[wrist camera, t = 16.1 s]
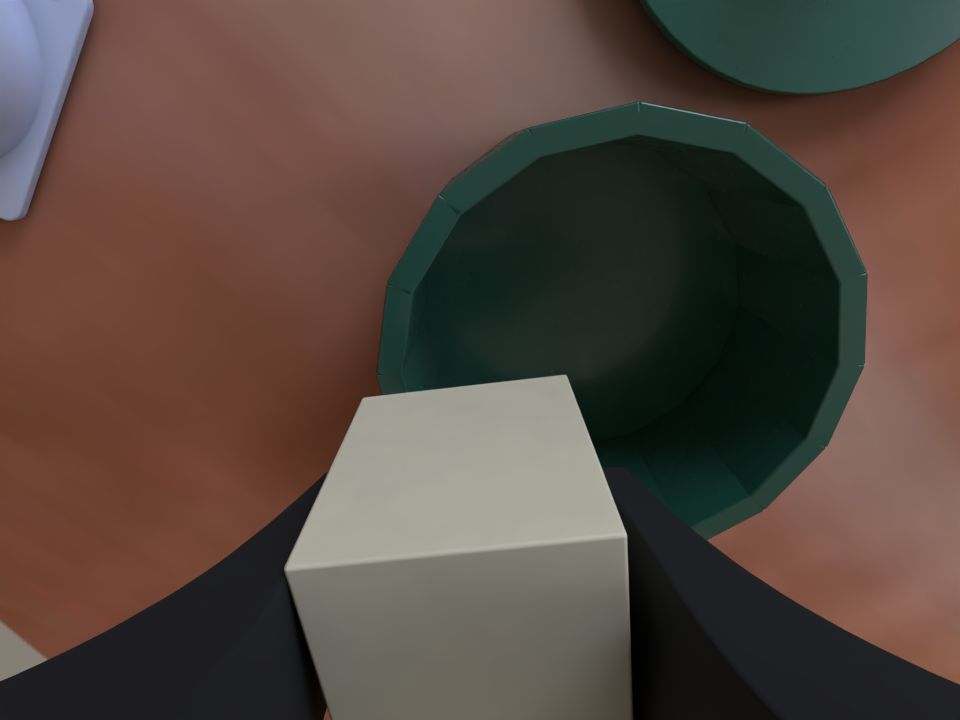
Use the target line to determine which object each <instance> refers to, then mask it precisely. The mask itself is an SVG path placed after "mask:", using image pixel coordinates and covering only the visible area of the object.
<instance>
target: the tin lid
mask: <svg viewBox="0 0 960 720" xmlns="http://www.w3.org/2000/svg"><path fill="white" fill-rule="evenodd" d="M639 1H640V3H641V4H642V6H643V8H644V9H645V11H646V13H647V14H648V16H649V17H650V18H651V19H652V21H653V22H654V23H655V24H656V26H657V27H658V28H659V29H660V31H661V32H662V33H663V34H664V36H665V37H666V38H667V39H668V40H669V41H670V42H671V43H673V44H674V45H675V46H676V47H677V48H678V49H679V50H680V51H681V52H682V53H683V54H684V55H686V56H687V57H688V58H689V59H691V60H692V61H694V62H695V63H697V64H698V65H700V66H701V67H703V68H704V69H706V70H707V71H709V72H710V73H712V74H714V75H716V76H718V77H721V78H723V79H725V80H727V81H729V82H731V83H734V84H736V85H739V86H742V87H746V88H750V89H753V90H757V91H760V92H765V93H773V94H781V95H789V96H794V95H821V94H828V93H834V92H840V91H846V90H852V89H857V88H860V87H863V86H867V85H870V84H873V83H877V82H880V81H883V80H886V79H888V78H891V77H893V76H895V75H898V74H900V73H902V72H904V71H907V70H909V69H911V68H913V67H916V66H917V65H919V64H921V63H922V62H924V61H926V60H928V59H929V58H931V57H933V56H934V55H936V54H938V53H940V52H941V51H943V50H945V49H946V48H948V47H949V46H950V45H952V44H953V43H954V42H956V41H957V40H958V39H960V0H639Z"/></svg>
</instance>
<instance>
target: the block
mask: <svg viewBox="0 0 960 720" xmlns="http://www.w3.org/2000/svg"><path fill="white" fill-rule="evenodd" d="M284 572H285V575H286V579H287V582H288V585H289V588H290V591H291V594H292V598H293V601H294V604H295V607H296V610H297V613H298V617H299V620H300V623H301V626H302V629H303V632H304V636H305V639H306V642H307V645H308V648H309V651H310V655H311V658H312V661H313V664H314V667H315V670H316V673H317V677H318V680H319V683H320V686H321V689H322V692H323V696H324V699H325V702H326V705H327V708H328V711H329V715H330V718H331V720H633V694H632V665H631V636H630V607H629V578H628V548H627V534H626V531H625V528H624V526H623V523H622V520H621V518H620V515H619V512H618V510H617V507H616V505H615V502H614V499H613V497H612V494H611V491H610V489H609V486H608V483H607V481H606V478H605V475H604V473H603V470H602V467H601V465H600V462H599V460H598V457H597V454H596V452H595V449H594V446H593V444H592V441H591V438H590V436H589V433H588V430H587V428H586V425H585V422H584V420H583V417H582V414H581V412H580V409H579V407H578V404H577V401H576V399H575V396H574V393H573V391H572V388H571V385H570V383H569V380H568V377H567V376H566V375H558V376H549V377H540V378H532V379H523V380H514V381H505V382H496V383H488V384H479V385H470V386H461V387H452V388H444V389H435V390H426V391H417V392H408V393H399V394H391V395H382V396H373V397H365V398H363V399H362V401H361V403H360V405H359V407H358V409H357V412H356V414H355V416H354V418H353V420H352V422H351V425H350V427H349V429H348V431H347V433H346V435H345V437H344V440H343V442H342V444H341V446H340V448H339V450H338V453H337V455H336V457H335V459H334V461H333V463H332V466H331V468H330V470H329V472H328V474H327V476H326V478H325V481H324V483H323V485H322V487H321V489H320V491H319V494H318V496H317V498H316V500H315V502H314V504H313V507H312V509H311V511H310V513H309V515H308V517H307V519H306V522H305V524H304V526H303V528H302V530H301V532H300V535H299V537H298V539H297V541H296V543H295V545H294V548H293V550H292V552H291V554H290V556H289V558H288V560H287V563H286V565H285V567H284Z"/></svg>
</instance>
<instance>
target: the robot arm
mask: <svg viewBox="0 0 960 720" xmlns="http://www.w3.org/2000/svg"><path fill="white" fill-rule="evenodd" d="M93 12H94V4H93V0H0V218H1V219H4V220H7V221H14V220H20V219H22V218H24V217H25V215H26V214H27V212H28V209H29V206H30V203H31V200H32V197H33V194H34V191H35V188H36V184H37V181H38V178H39V175H40V172H41V169H42V166H43V163H44V160H45V157H46V154H47V151H48V148H49V145H50V142H51V139H52V136H53V133H54V130H55V127H56V124H57V121H58V118H59V115H60V112H61V109H62V106H63V103H64V100H65V97H66V94H67V91H68V88H69V85H70V82H71V79H72V76H73V73H74V70H75V67H76V64H77V61H78V58H79V55H80V52H81V49H82V46H83V43H84V40H85V37H86V34H87V31H88V28H89V25H90V22H91V19H92V16H93ZM602 470H603V473H604V475H605V478H606V481H607V483H608V486H609V489H610V491H611V494H612V497H613V499H614V502H615V505H616V507H617V510H618V512H619V515H620V518H621V520H622V523H623V526H624V528H625V531H626V534H627V548H628V578H629V607H630V636H631V665H632V694H633V720H960V685H959V684H957V683H955V682H952V681H950V680H947V679H945V678H943V677H940V676H938V675H936V674H933V673H931V672H929V671H927V670H925V669H923V668H920V667H918V666H916V665H914V664H912V663H910V662H908V661H906V660H904V659H902V658H899V657H897V656H895V655H893V654H891V653H889V652H887V651H885V650H883V649H881V648H879V647H877V646H875V645H873V644H871V643H869V642H867V641H865V640H863V639H861V638H859V637H857V636H855V635H853V634H851V633H849V632H847V631H846V630H844V629H842V628H840V627H838V626H837V625H835V624H833V623H831V622H829V621H828V620H826V619H824V618H822V617H821V616H819V615H817V614H815V613H813V612H812V611H810V610H808V609H806V608H805V607H803V606H801V605H800V604H798V603H796V602H795V601H793V600H791V599H790V598H788V597H786V596H785V595H783V594H782V593H780V592H779V591H777V590H775V589H774V588H772V587H771V586H769V585H768V584H766V583H765V582H763V581H762V580H760V579H759V578H757V577H756V576H754V575H753V574H751V573H750V572H748V571H747V570H745V569H744V568H743V567H741V566H740V565H738V564H737V563H735V562H734V561H733V560H731V559H730V558H729V557H727V556H726V555H725V554H724V553H722V552H721V551H720V550H718V549H717V548H716V547H714V546H713V545H712V544H710V543H709V542H708V541H707V540H705V539H704V538H703V537H702V536H700V535H699V534H698V533H697V532H695V531H694V530H693V529H692V528H691V527H689V526H688V525H687V524H686V523H685V522H684V521H682V520H681V519H680V518H679V517H678V516H677V515H675V514H674V513H673V512H672V511H671V510H670V509H669V508H668V507H666V506H665V505H664V504H663V503H662V502H661V501H660V500H659V499H658V498H656V497H655V496H654V495H653V494H652V493H651V492H650V491H649V490H648V489H647V488H646V487H644V486H643V485H642V484H641V483H640V482H639V481H638V480H637V479H636V478H635V477H634V476H633V475H631V474H630V473H629V472H628V471H627V470H626V469H625V468H623V467H602ZM328 472H329V471H328ZM328 472H327V473H326V474H324V475H323V476H322V477H321V478H320V479H319V480H318V481H317V482H316V483H315V484H313V485H312V486H311V487H310V488H309V489H308V490H307V491H306V492H305V493H304V494H302V495H301V496H300V497H299V498H298V499H297V500H296V501H295V502H293V503H292V504H291V505H290V506H289V507H288V508H287V509H285V510H284V511H283V512H282V513H281V514H280V515H279V516H277V517H276V518H275V519H274V520H273V521H272V522H270V523H269V524H268V525H267V526H266V527H264V528H263V529H262V530H260V531H259V532H258V533H257V534H255V535H254V536H253V537H252V538H250V539H249V540H248V541H246V542H245V543H244V544H243V545H241V546H240V547H239V548H238V549H236V550H235V551H234V552H233V553H231V554H230V555H229V556H227V557H226V558H225V559H223V560H222V561H220V562H219V563H218V564H216V565H215V566H213V567H212V568H210V569H209V570H208V571H206V572H205V573H203V574H202V575H200V576H199V577H197V578H196V579H194V580H192V581H191V582H189V583H188V584H186V585H185V586H183V587H182V588H180V589H179V590H177V591H176V592H174V593H172V594H171V595H169V596H167V597H166V598H164V599H162V600H161V601H159V602H157V603H155V604H154V605H152V606H150V607H148V608H147V609H145V610H143V611H141V612H140V613H138V614H136V615H134V616H133V617H131V618H129V619H127V620H126V621H124V622H122V623H120V624H118V625H117V626H115V627H113V628H111V629H109V630H108V631H106V632H104V633H102V634H100V635H98V636H96V637H94V638H92V639H90V640H88V641H86V642H84V643H82V644H80V645H78V646H76V647H74V648H72V649H70V650H68V651H66V652H64V653H62V654H60V655H58V656H55V657H53V658H51V659H49V660H47V661H45V662H43V663H41V664H39V665H36V666H34V667H32V668H30V669H28V670H25V671H23V672H21V673H19V674H16V675H14V676H12V677H10V678H7V679H5V680H3V681H0V720H323V719H324V715H325V711H326V708H327V705H326V702H325V699H324V696H323V692H322V689H321V686H320V683H319V680H318V677H317V673H316V670H315V667H314V664H313V661H312V658H311V655H310V651H309V648H308V645H307V642H306V639H305V636H304V632H303V629H302V626H301V623H300V620H299V617H298V613H297V610H296V607H295V604H294V601H293V598H292V594H291V591H290V588H289V585H288V582H287V579H286V575H285V572H284V567H285V565H286V563H287V560H288V558H289V556H290V554H291V552H292V550H293V548H294V545H295V543H296V541H297V539H298V537H299V535H300V532H301V530H302V528H303V526H304V524H305V522H306V519H307V517H308V515H309V513H310V511H311V509H312V507H313V504H314V502H315V500H316V498H317V496H318V494H319V491H320V489H321V487H322V485H323V483H324V481H325V478H326V476H327V474H328Z"/></svg>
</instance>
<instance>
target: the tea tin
mask: <svg viewBox="0 0 960 720" xmlns="http://www.w3.org/2000/svg"><path fill="white" fill-rule="evenodd" d="M866 305H867V273H866V269H865V267H864V265H863V263H862V260H861V258H860V256H859V254H858V252H857V249H856V247H855V245H854V243H853V240H852V238H851V236H850V234H849V232H848V229H847V227H846V225H845V223H844V221H843V218H842V216H841V214H840V212H839V209H838V207H837V205H836V203H835V201H834V198H833V196H832V194H831V192H830V190H829V188H828V187H826V185H825V183H824V182H823V181H821V180H820V179H819V178H817V177H816V176H815V175H814V174H812V173H811V172H810V171H808V170H807V169H806V168H805V167H803V166H802V165H801V164H800V163H798V162H797V161H796V160H794V159H793V158H792V157H791V156H789V155H788V154H787V153H785V152H784V151H783V150H782V149H780V148H779V147H778V146H776V145H775V144H774V143H773V142H771V141H770V140H769V139H767V138H766V137H765V136H764V135H762V134H761V133H760V132H758V131H757V130H756V129H755V128H753V127H752V126H751V125H749V124H746V123H745V122H743V121H738V120H733V119H728V118H722V117H717V116H712V115H707V114H702V113H697V112H692V111H687V110H682V109H677V108H672V107H667V106H662V105H657V104H652V103H647V102H634V103H629V104H625V105H621V106H617V107H613V108H608V109H604V110H600V111H596V112H592V113H588V114H583V115H579V116H575V117H571V118H567V119H562V120H558V121H554V122H550V123H546V124H542V125H537V126H533V127H529V128H527V129H524V130H521V131H518V132H515V133H513V134H511V135H510V136H508V137H507V138H506V139H504V140H503V141H502V142H500V143H499V144H498V145H496V146H495V147H494V148H492V149H491V150H489V151H488V152H487V153H485V154H484V155H483V156H481V157H480V158H479V159H477V160H476V161H475V162H473V163H472V164H471V165H469V166H468V167H467V168H465V169H464V170H463V171H461V172H460V173H459V174H457V175H456V176H455V177H453V178H452V179H451V180H450V181H449V182H448V184H447V185H446V186H445V187H444V189H443V190H442V191H441V192H440V194H439V195H438V196H437V198H436V200H435V201H434V203H433V205H432V206H431V208H430V210H429V212H428V213H427V215H426V217H425V218H424V220H423V222H422V223H421V225H420V227H419V229H418V230H417V232H416V234H415V235H414V237H413V239H412V241H411V242H410V244H409V246H408V247H407V249H406V251H405V253H404V254H403V256H402V258H401V259H400V261H399V263H398V264H397V266H396V268H395V270H394V271H393V273H392V275H391V276H390V278H389V280H388V284H387V286H386V294H385V303H384V311H383V320H382V328H381V337H380V345H379V354H378V362H377V380H378V383H379V386H380V389H381V393H382V395H391V394H399V393H408V392H417V391H426V390H435V389H444V388H452V387H461V386H470V385H479V384H488V383H496V382H505V381H514V380H523V379H532V378H540V377H549V376H558V375H566V376H567V377H568V380H569V383H570V385H571V388H572V391H573V393H574V396H575V399H576V401H577V404H578V407H579V409H580V412H581V414H582V417H583V420H584V422H585V425H586V428H587V430H588V433H589V436H590V438H591V441H592V444H593V446H594V449H595V452H596V454H597V457H598V460H599V462H600V465H601V467H623V468H625V469H626V470H627V471H628V472H629V473H630V474H631V475H633V476H634V477H635V478H636V479H637V480H638V481H639V482H640V483H641V484H642V485H643V486H644V487H646V488H647V489H648V490H649V491H650V492H651V493H652V494H653V495H654V496H655V497H656V498H658V499H659V500H660V501H661V502H662V503H663V504H664V505H665V506H666V507H668V508H669V509H670V510H671V511H672V512H673V513H674V514H675V515H677V516H678V517H679V518H680V519H681V520H682V521H684V522H685V523H686V524H687V525H688V526H689V527H691V528H692V529H693V530H694V531H695V532H697V533H698V534H699V535H700V536H702V537H703V538H704V539H705V540H708V539H710V538H712V537H714V536H716V535H718V534H719V533H721V532H723V531H725V530H727V529H729V528H731V527H733V526H735V525H737V524H739V523H741V522H743V521H744V520H746V519H748V518H750V517H752V516H754V515H756V514H758V513H760V512H762V511H763V509H766V508H767V507H768V506H769V505H770V504H771V503H772V502H773V501H774V500H775V499H776V498H777V497H778V496H779V495H780V494H781V493H782V492H783V491H784V490H785V489H786V488H787V487H788V486H789V485H790V484H791V483H792V482H793V481H794V480H795V479H796V477H797V476H798V475H799V474H800V473H801V472H802V471H803V470H804V469H805V468H806V467H807V466H808V465H809V464H810V463H811V462H812V461H813V460H814V459H815V458H816V457H817V456H818V455H819V454H820V453H821V452H822V451H823V450H824V449H825V447H826V446H828V444H829V442H830V439H831V437H832V435H833V433H834V431H835V429H836V426H837V424H838V422H839V420H840V418H841V415H842V413H843V411H844V409H845V407H846V405H847V402H848V400H849V398H850V396H851V394H852V391H853V389H854V387H855V385H856V383H857V381H858V378H859V376H860V374H861V372H862V370H863V368H864V365H863V364H864V363H865V337H866Z"/></svg>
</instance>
